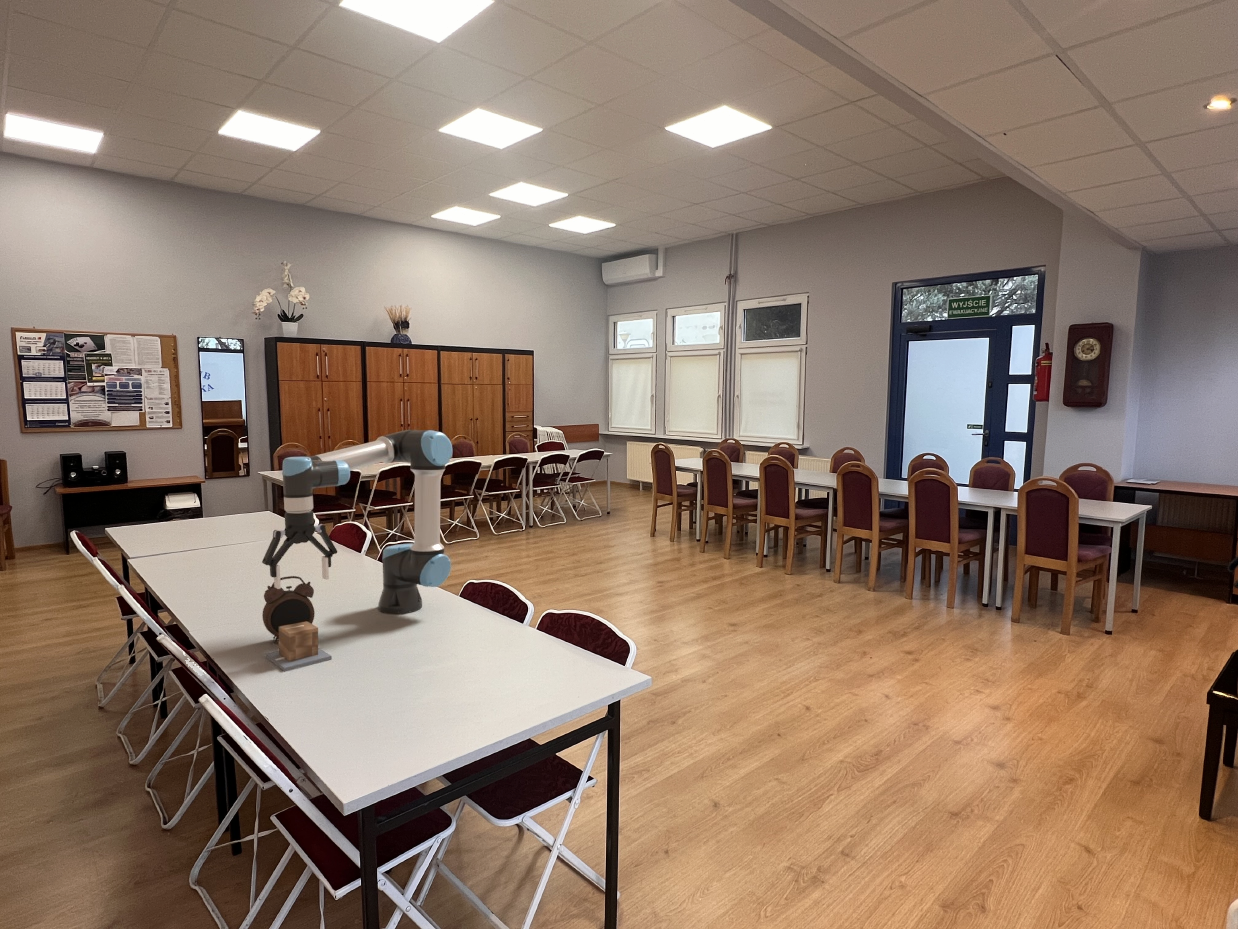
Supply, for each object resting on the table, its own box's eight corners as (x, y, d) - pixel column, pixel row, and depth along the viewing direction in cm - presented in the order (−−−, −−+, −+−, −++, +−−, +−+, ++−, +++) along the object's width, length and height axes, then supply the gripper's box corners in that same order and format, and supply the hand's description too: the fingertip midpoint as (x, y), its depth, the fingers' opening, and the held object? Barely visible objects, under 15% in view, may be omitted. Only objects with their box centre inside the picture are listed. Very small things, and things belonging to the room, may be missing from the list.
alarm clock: (266, 648, 205) (264, 583, 203) (262, 641, 211) (260, 577, 209) (317, 638, 214) (316, 576, 212) (312, 632, 219) (311, 571, 218)
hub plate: (310, 645, 207) (310, 626, 207) (331, 659, 197) (331, 639, 197) (265, 656, 198) (264, 636, 198) (284, 671, 188) (284, 650, 187)
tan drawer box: (306, 647, 203) (306, 620, 203) (318, 654, 198) (318, 626, 197) (278, 653, 197) (278, 625, 197) (289, 661, 192) (289, 632, 191)
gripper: (336, 504, 207) (338, 572, 209) (247, 514, 189) (251, 589, 191) (347, 507, 202) (349, 577, 204) (256, 518, 184) (260, 594, 186)
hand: (302, 583), depth 197 cm, fingers open, 13 cm apart
